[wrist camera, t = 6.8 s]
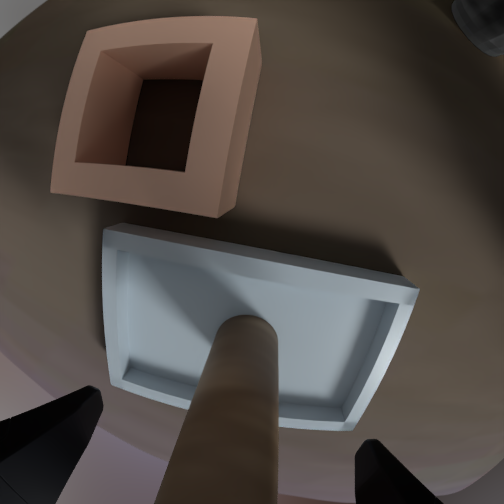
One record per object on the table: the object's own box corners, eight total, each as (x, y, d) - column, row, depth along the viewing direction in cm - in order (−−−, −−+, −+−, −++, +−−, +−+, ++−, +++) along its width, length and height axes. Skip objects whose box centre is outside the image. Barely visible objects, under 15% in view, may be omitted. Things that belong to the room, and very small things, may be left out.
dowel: (284, 321, 13) (291, 542, 3) (270, 371, 13) (260, 562, 4) (220, 308, 13) (136, 515, 3) (212, 359, 13) (151, 542, 4)
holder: (262, 63, 10) (256, 18, 7) (234, 206, 12) (217, 218, 8) (129, 60, 11) (87, 30, 7) (103, 187, 12) (50, 192, 8)
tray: (403, 276, 12) (419, 289, 11) (346, 410, 15) (352, 430, 13) (122, 222, 13) (103, 228, 11) (123, 367, 15) (111, 384, 13)
